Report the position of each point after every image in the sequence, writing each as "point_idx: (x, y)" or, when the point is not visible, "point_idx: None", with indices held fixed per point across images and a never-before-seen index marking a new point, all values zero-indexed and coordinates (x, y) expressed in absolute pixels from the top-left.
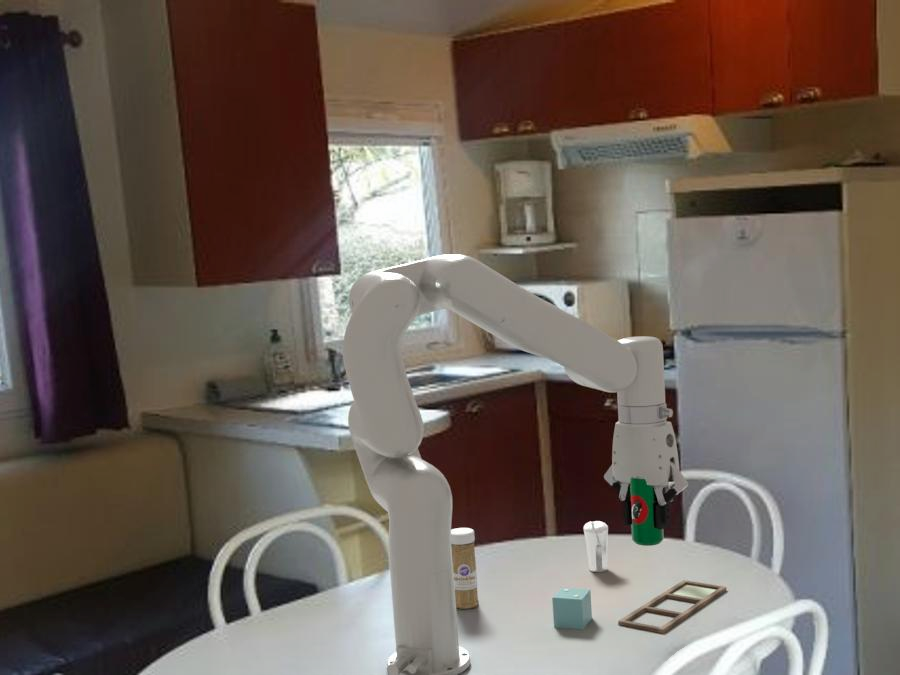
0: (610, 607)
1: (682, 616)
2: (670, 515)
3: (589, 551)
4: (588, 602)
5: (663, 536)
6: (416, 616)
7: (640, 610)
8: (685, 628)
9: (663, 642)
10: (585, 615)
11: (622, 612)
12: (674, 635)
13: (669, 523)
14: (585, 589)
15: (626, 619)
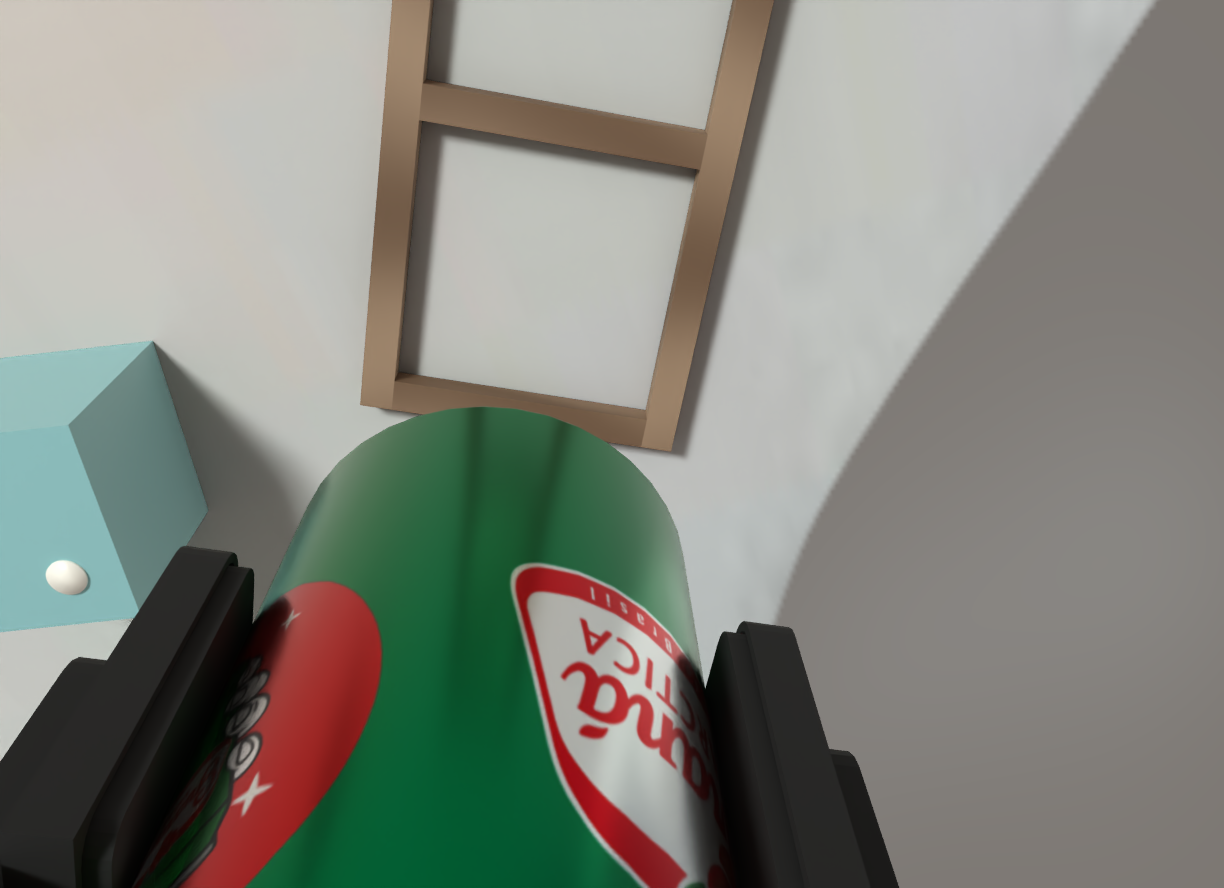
0: (154, 111)
1: (726, 203)
2: (869, 808)
3: None
4: (121, 448)
5: (682, 554)
6: None
7: (413, 184)
8: (775, 326)
9: (708, 547)
10: (170, 497)
11: (284, 182)
12: (739, 444)
13: (792, 633)
14: (35, 435)
15: (396, 363)
